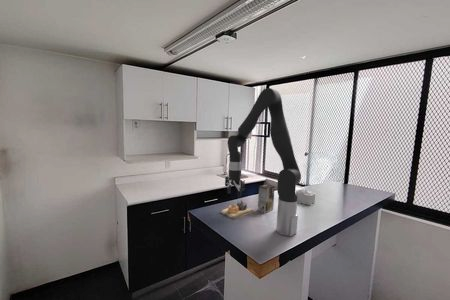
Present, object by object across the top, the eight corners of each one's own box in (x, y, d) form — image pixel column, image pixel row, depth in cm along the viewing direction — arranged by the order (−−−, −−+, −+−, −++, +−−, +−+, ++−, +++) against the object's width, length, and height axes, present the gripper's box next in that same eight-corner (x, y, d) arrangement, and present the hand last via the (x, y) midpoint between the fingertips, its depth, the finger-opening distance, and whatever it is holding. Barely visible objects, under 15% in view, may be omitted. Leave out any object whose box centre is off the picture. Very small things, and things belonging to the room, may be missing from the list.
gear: (240, 211, 130) (240, 207, 130) (233, 214, 126) (233, 209, 125) (233, 208, 134) (233, 204, 134) (226, 211, 130) (226, 206, 130)
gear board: (253, 211, 134) (254, 201, 134) (234, 219, 123) (235, 207, 122) (239, 206, 143) (239, 196, 142) (220, 212, 131) (221, 201, 131)
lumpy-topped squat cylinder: (309, 205, 149) (310, 193, 148) (292, 200, 158) (293, 189, 157) (315, 202, 156) (316, 191, 155) (299, 198, 165) (300, 187, 164)
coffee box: (265, 207, 144) (266, 183, 142) (273, 209, 139) (275, 185, 137) (257, 210, 137) (258, 185, 135) (265, 213, 133) (266, 188, 131)
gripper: (248, 169, 125) (247, 196, 126) (230, 166, 135) (230, 191, 137) (239, 171, 120) (238, 199, 121) (222, 167, 130) (221, 193, 131)
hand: (234, 195), depth 129 cm, fingers open, 8 cm apart
